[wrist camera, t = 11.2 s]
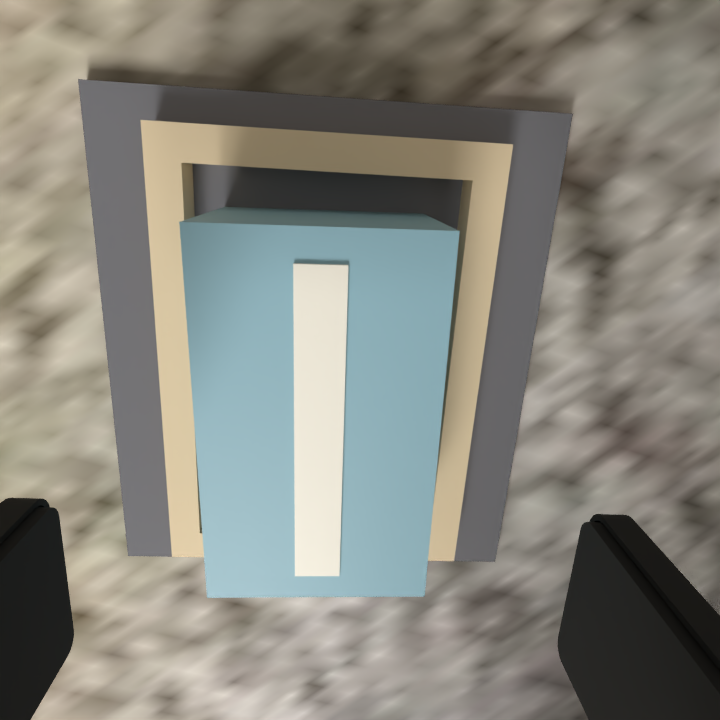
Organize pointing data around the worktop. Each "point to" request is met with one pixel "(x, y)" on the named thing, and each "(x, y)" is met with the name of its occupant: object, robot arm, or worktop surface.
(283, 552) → the card box
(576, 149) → the worktop surface
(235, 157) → the mat
